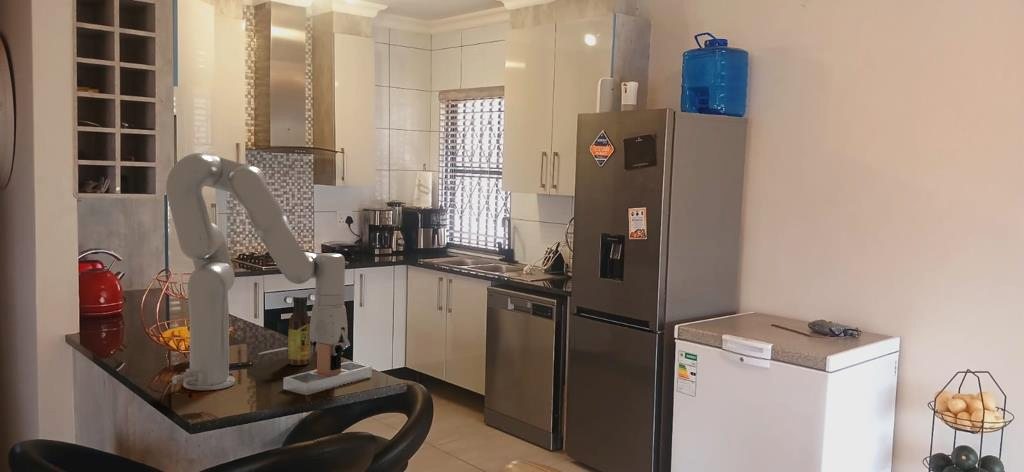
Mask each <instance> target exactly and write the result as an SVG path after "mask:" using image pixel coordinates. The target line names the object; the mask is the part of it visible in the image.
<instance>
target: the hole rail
mask: <svg viewBox="0 0 1024 472" xmlns="http://www.w3.org/2000/svg"><path fill="white" fill-rule="evenodd" d="M372 367H373V366H372V365H367V364H362V363H358V362H354V361H350V360H349V361H346V362H341V373H339V374H336V375H332V376H325V375H321V374H317V369H313V370H309V371H305V372H301V373H298V374H293V375H289V376H285V377H283V390H286V391H289V392H293V393H296V394H301V395H305V396H308V395H311V394H316V393H318V392H323V391H326V389H327V390H330V389H333V387H334V388H337V387H340V385H341V386H344V385H343V384H345V385H347V383H348V384H350V383H351V382H352V383H355V382H358V381H362V380H366V379H369V378H372V377H373V376H372V375H373V374H372V373H373V372H372V371H373V368H372ZM352 383H351V384H352Z"/></svg>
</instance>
